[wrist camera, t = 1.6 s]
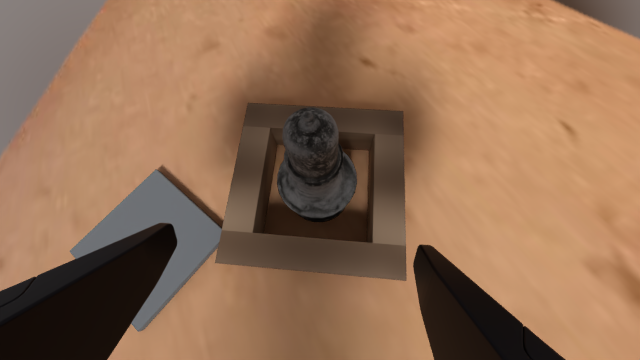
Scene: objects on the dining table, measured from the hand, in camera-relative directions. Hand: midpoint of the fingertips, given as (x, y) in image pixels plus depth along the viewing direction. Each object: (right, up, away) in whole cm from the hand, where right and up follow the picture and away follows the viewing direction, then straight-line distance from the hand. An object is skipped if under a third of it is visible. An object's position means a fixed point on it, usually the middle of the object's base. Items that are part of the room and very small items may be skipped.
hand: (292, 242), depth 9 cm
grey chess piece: (+1, +1, +13) cm, 13 cm away
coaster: (-13, -3, +12) cm, 18 cm away
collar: (+1, +1, +13) cm, 13 cm away
